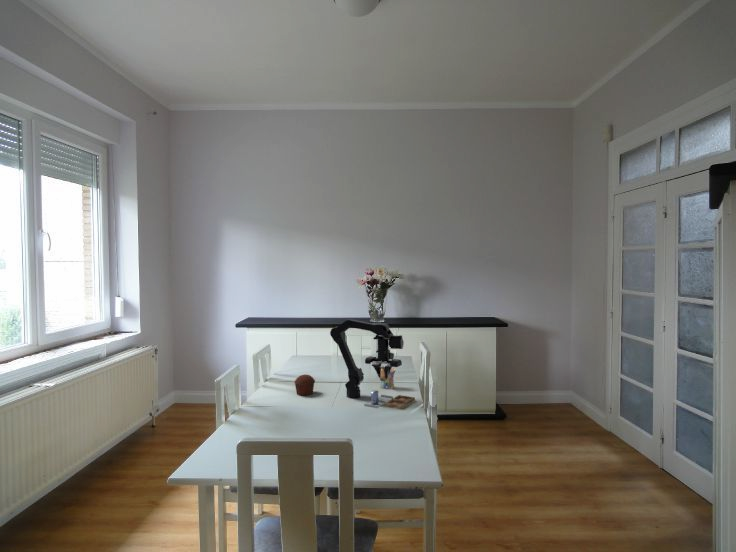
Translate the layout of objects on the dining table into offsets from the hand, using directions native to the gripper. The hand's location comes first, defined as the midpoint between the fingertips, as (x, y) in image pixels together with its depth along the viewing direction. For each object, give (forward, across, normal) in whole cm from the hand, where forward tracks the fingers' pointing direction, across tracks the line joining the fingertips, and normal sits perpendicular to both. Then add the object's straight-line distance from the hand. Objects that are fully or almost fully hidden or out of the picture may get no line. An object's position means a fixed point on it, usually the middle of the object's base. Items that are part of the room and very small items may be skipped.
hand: (383, 378), depth 234 cm
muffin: (+12, +44, +8) cm, 47 cm away
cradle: (+12, 0, +4) cm, 13 cm away
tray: (+12, -10, +1) cm, 16 cm away
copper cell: (+1, 0, 0) cm, 1 cm away
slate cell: (+11, 0, +9) cm, 14 cm away
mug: (+12, +8, -21) cm, 25 cm away
